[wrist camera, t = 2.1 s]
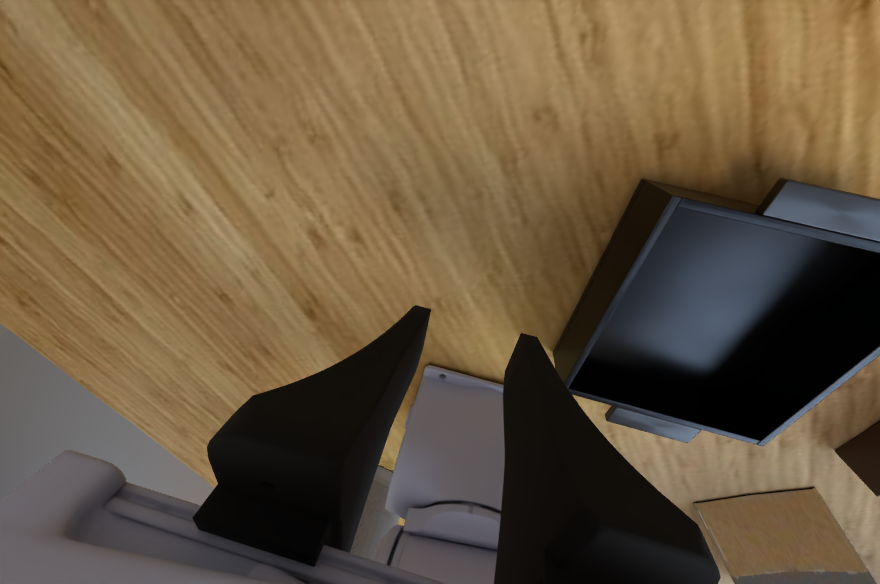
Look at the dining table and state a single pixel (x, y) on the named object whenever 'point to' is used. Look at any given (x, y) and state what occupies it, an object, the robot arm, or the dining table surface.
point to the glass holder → (374, 516)
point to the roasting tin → (727, 310)
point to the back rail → (864, 457)
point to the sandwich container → (782, 540)
